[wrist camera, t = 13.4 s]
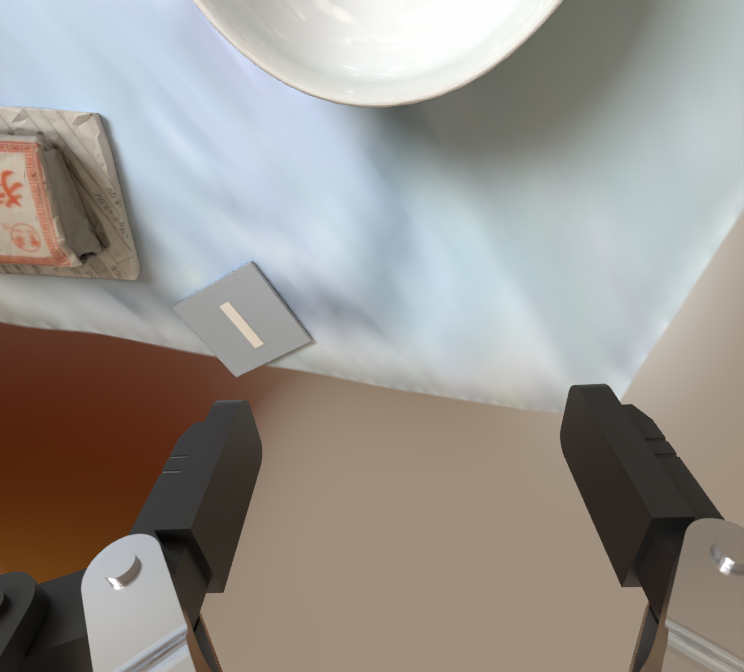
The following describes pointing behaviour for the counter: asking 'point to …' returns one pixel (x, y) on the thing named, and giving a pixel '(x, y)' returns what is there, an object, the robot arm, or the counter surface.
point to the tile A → (242, 320)
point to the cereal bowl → (377, 43)
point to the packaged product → (61, 197)
